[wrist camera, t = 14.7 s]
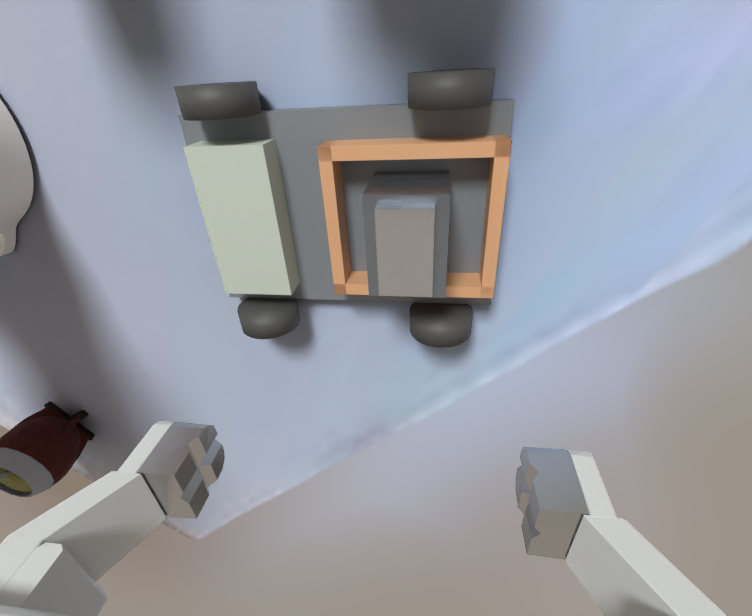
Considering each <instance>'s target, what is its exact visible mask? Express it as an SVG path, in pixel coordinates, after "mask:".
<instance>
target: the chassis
mask: <svg viewBox="0 0 752 616" xmlns="http://www.w3.org/2000/svg"><path fill="white" fill-rule="evenodd" d="M494 74H495V68H476V69H454V70H438V71H424V72H413V73H408V104H388V105H366V106H344V107H322V108H300V109H278V110H261V105H260V99H259V94H258V89H257V83H256V81H246V82H228V83H213V84H199V85H188V86H178V87H174V88H175V91H176V95H177V98H178V102H179V105H180V109H181V113H182V115H180V116H179V119H180V123H181V126H182V130H183V133H184V137H185V140H186V144H187V146H185V147H183V149H184V152H185V156H186V159H187V163H188V166H189V170H190V173H191V176H192V180H193V183H194V187H195V190H196V194H197V197H198V200H199V204H200V207H201V211H202V214H203V218H204V221H205V224H206V228H207V231H208V235H209V238H210V241H211V245H212V248H213V252H214V255H215V259H216V262H217V265H218V269H219V272H220V276H221V279H222V283H223V286H224V289H225V293H229V294H230V297H248V298H247V299H245V300H244V301H243V302H242V303H241V304H240V305H239V307H238V315H239V319H240V322H241V326H242V329H243V332H244V333H245V334H246V335H247V336H249V337H252V338H256V339H270V338H275V337H279V336H282V335H284V334H286V333H288V332H290V331H292V330H293V329H294V328H295V327H296V326H297V325H298V323H299V321H300V316H299V311H298V305H297V300H296V299H320V300H353V301H386V302H414V303H413V304H412V305H411V307H410V332H411V334H412V336H413V337H414V338H415V339H416V340H417V341H419V342H421V343H423V344H425V345H428V346H432V347H452V346H456V345H459V344H461V343H463V342H465V341H466V340H467V339H468V338H469V337H470V334H471V327H472V316H473V311H472V308H471V306H470V305H469V304H485V305H491V298H493V293H494V285H495V277H496V268H497V260H498V252H499V243H500V235H501V227H502V219H503V210H504V202H505V194H506V185H507V177H508V169H509V160H510V152H511V144H512V141H511V139H510V134H511V126H512V117H513V109H514V100H512V99H499V100H492V96H493V85H494ZM444 170H449V171H450V194H451V195H450V215H449V236H448V257H447V278H446V298H430V297H396V296H369V290H368V276H367V262H366V247H365V233H364V219H363V205H362V194H363V192H364V191H365V189H366V187H367V186H368V184H369V182H370V181H371V179H372V177H373V176H374V174H375V172H390V171H444Z"/></svg>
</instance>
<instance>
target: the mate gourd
mask: <svg viewBox="0 0 752 616" xmlns="http://www.w3.org/2000/svg"><path fill="white" fill-rule="evenodd" d="M44 407H46V408H44V409H43V410H41V411H39V412H37V413H35V414H33V415H31V416H29V417H27V418H26V419H24V420H23V421H21V422H20V423H19V424H17V425H16V426H15V427H14V428H12V429H11V430H10V431H9V432H8V433H6V434H5V435H4V436H2V437H1V438H0V490H3V491H4V492H7V493H9V494H11V495H15V496H19V497H31V496H33V495H36V494H38V493H41V492H43V491H45V490H47V489H49V488H51V487H52V486H53V485H54V484H55V483H57V482H58V481H59V480H61V479H62V478H63V477H64V476H65V475H66V474H67V472H68V471H69V470H70V469H71V467H72V465H73V464H74V463H75V461H76V460H77V459H78V457H79V456H80V454H81V452H82V451H83V449H84V447H85V445H86V443H87V441H88V440H92V439H93V437H94V436H95V435H94V434H93V433H92V432H90V431H89V430H88V429H86V428H85V427H84V426H83V425H81V424H80V423H79V422H78V421H80V420H82V419H84V418H85V417H86V416H87V415H88V413H87V412H86V411H84V410H81V411H79V412H78V413H76V414H74V415H72V416H70V415H68V414H67V413H66V412H64V411H63V410H62V409H60V408H59V407H58V406H56V405H55V404H54V403H52V402H48V403H47V404H45V405H44Z"/></svg>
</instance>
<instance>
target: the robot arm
mask: <svg viewBox="0 0 752 616" xmlns="http://www.w3.org/2000/svg"><path fill="white" fill-rule="evenodd" d="M33 188H34V181H33V171H32V166H31V161H30V157H29V154H28V151H27V148H26V145H25V143H24V140H23V138H22V135H21V133H20V131H19V129H18V127H17V125H16V123H15V121H14V120H13V118H12V116H11V114H10V113H9V111H8V109H7V108H6V106H5V105H4V103H3V102H2V100H1V99H0V256H2V255H5V254H9V253H11V252H13V251H14V249H15V243H16V227H17V224H18V223H19V221H20V220H21V218H22V217H23V216H24V215H25V213H26V212H27V210H28V208H29V206H30V204H31V200H32V196H33ZM216 436H217V432H216V429H215V427H214V426H213V425H203V424H193V423H183V422H173V421H158V422H157V423H155V424H154V425H153V426H152V427H151V428H150V430H149V431H148V432H147V434H146V435H145V436H144V437H143V439H142V440H141V441H140V443H139V444H138V445H137V446H136V448H135V449H134V450H133V452H132V453H131V454H130V455H129V457H128V458H127V459H126V461H125V462H124V463H123V464H122V466H121V467H120V468H119V469H118V471H111V472H110V473H108V474H106V475H105V476H103V477H102V478H100V479H98V480H97V481H95V482H93V483H92V484H90V485H89V486H87V487H85V488H84V489H82V490H81V491H79V492H77V493H76V494H74V495H73V496H71V497H69V498H68V499H66V500H65V501H63V502H61V503H60V504H58V505H57V506H55V507H53V508H52V509H50V510H49V511H47V512H45V513H44V514H42V515H40V516H39V517H37V518H36V519H34V520H32V521H31V522H29V523H27V524H26V525H24V526H23V527H21V528H20V529H18V530H16V531H15V532H13V533H11V534H10V535H8V536H7V537H6V538H5V540H4V541H3V542H2V543H1V544H0V616H98V614H99V612H100V611H101V609H102V607H103V606H104V604H105V602H106V601H107V596H106V593H105V592H104V591H103V590H102V588H101V587H100V586H99V585H98V584H97V583H96V581H97V580H98V579H99V578H100V577H102V576H103V575H104V574H105V573H106V572H107V571H108V570H109V569H110V568H111V567H113V566H114V565H115V564H116V563H117V562H118V561H119V560H121V559H122V558H123V557H124V556H125V555H126V554H127V553H128V552H129V551H131V550H132V549H133V548H134V547H135V546H136V545H137V544H138V543H140V542H141V541H142V540H143V539H144V538H145V537H146V536H147V535H148V534H149V533H151V532H152V531H153V530H154V529H155V528H156V527H157V526H158V525H159V524H161V523H162V522H163V521H164V520H165V519H166V518H167V517H166V516H170V517H183V518H196V519H197V517H198V515H199V513H200V511H201V509H202V508H203V506H204V504H205V502H206V500H207V498H208V496H209V491H208V486H209V485H211V484H212V483H213V482H215V481H216V480H217V479H218V477H219V475H220V473H221V471H222V468H223V463H224V459H225V458H224V449H223V447H222V444H220V443H219V442H218V441H217V440H215V437H216ZM520 459H521V464H522V465H521V466H520V467H518V468H517V474H516V495H517V501H518V508H519V509H520V510H521V511H522V512H523V513H524V518H523V522H522V530H523V536H524V541H525V546H526V552H527V554H529V555H536V556H544V557H551V558H559V559H566V560H565V562H566V563H567V565H568V566H569V568H570V569H571V570H572V572H573V573H574V574H575V576H576V577H577V578H578V580H579V581H580V583H581V584H582V585H583V587H584V588H585V589H586V591H587V592H588V594H589V595H590V596H591V598H592V599H593V600H594V602H595V603H596V605H597V606H598V607H599V608H600V610H601V611H602V613H603V614H604V616H726V615H725V614H724V613H723V612H722V611H721V610H720V609H719V608H718V607H717V606H716V605H715V604H713V602H712V601H711V600H709V599H708V598H707V597H706V596H705V595H704V594H703V593H702V592H701V591H700V590H699V589H698V588H697V587H696V586H695V585H694V584H693V583H692V582H691V581H689V580H688V579H687V578H686V577H685V576H684V575H683V574H682V573H681V572H680V571H679V570H678V569H677V568H676V567H675V566H674V565H673V564H672V563H671V562H669V561H668V560H667V559H666V558H665V557H664V556H663V555H662V554H661V553H660V552H659V551H658V550H657V549H656V548H654V546H653V545H652V544H650V543H649V542H648V541H647V540H646V539H645V538H644V537H643V536H642V535H641V534H640V533H639V532H638V531H637V530H636V529H635V528H634V527H633V526H631V524H630V523H628V522H627V521H626V520H625V519H623V518H617V516H616V513H615V511H614V508H613V506H612V503H611V500H610V498H609V495H608V493H607V490H606V488H605V486H604V483H603V480H602V478H601V475H600V473H599V470H598V468H597V465H596V462H595V460H594V457H593V455H592V454H591V453H590V452H588V451H574V450H564V449H550V448H532V447H523V449H522V451H521V455H520Z"/></svg>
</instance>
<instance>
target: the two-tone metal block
mask: <svg viewBox="0 0 752 616" xmlns="http://www.w3.org/2000/svg"><path fill="white" fill-rule="evenodd" d="M450 195H451V194H450V171H449V170H444V171H390V172H375V174H374V176H373V177H372V179H371V181H370V182H369V184H368V186H367V187H366V189H365V191H364V192H363V194H362V205H363V219H364V233H365V247H366V262H367V276H368V290H369V296H396V297H430V298H446V278H447V257H448V236H449V215H450Z"/></svg>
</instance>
